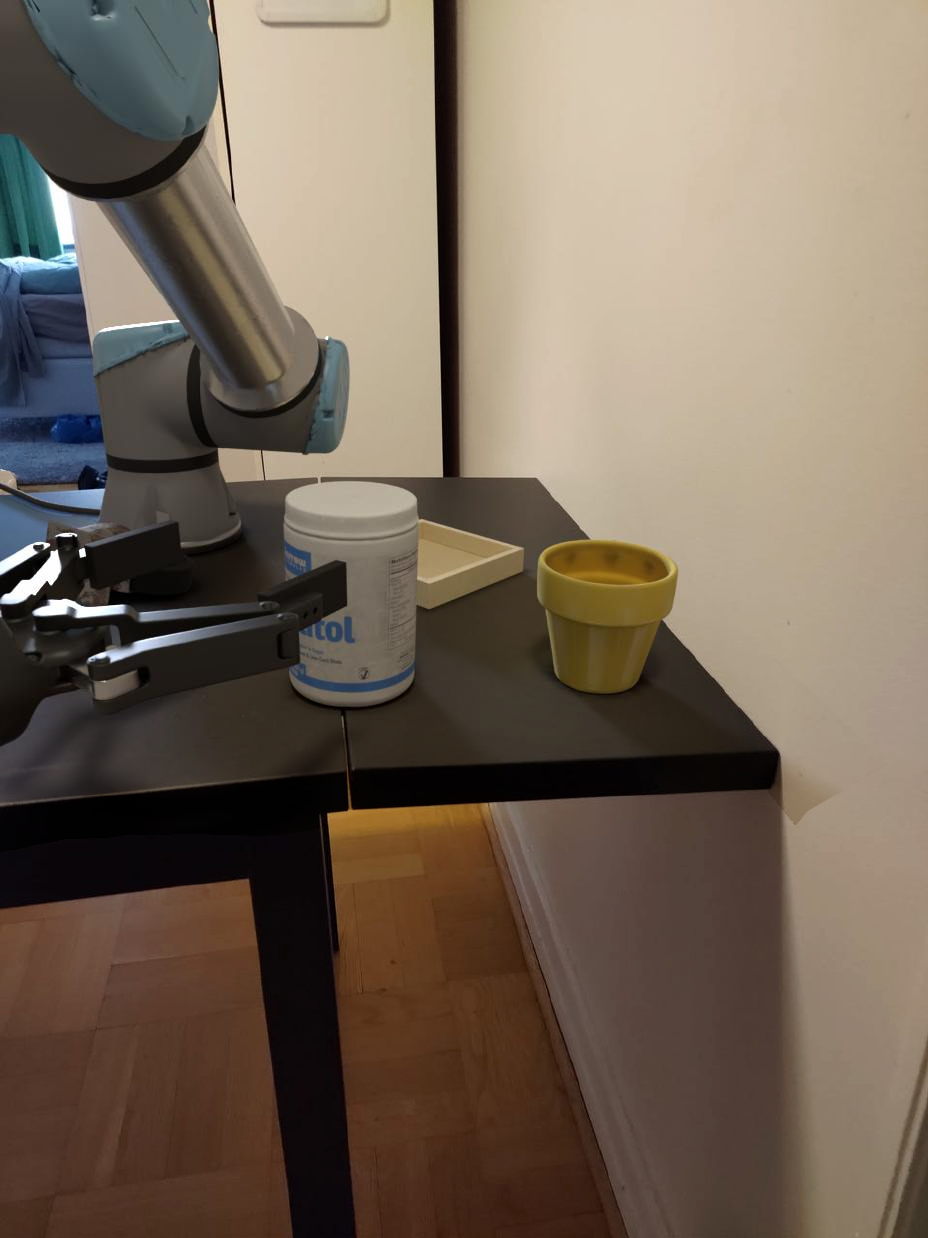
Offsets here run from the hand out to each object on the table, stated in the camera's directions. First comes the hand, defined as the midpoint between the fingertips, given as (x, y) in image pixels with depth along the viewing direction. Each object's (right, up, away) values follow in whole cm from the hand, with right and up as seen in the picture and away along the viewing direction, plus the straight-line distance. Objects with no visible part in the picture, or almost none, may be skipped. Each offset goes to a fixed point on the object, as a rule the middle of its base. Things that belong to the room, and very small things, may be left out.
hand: (254, 560), depth 53 cm
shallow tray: (+9, +1, +36) cm, 37 cm away
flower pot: (+23, -8, +15) cm, 29 cm away
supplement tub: (+5, -9, +13) cm, 16 cm away
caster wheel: (-19, -1, +28) cm, 34 cm away
